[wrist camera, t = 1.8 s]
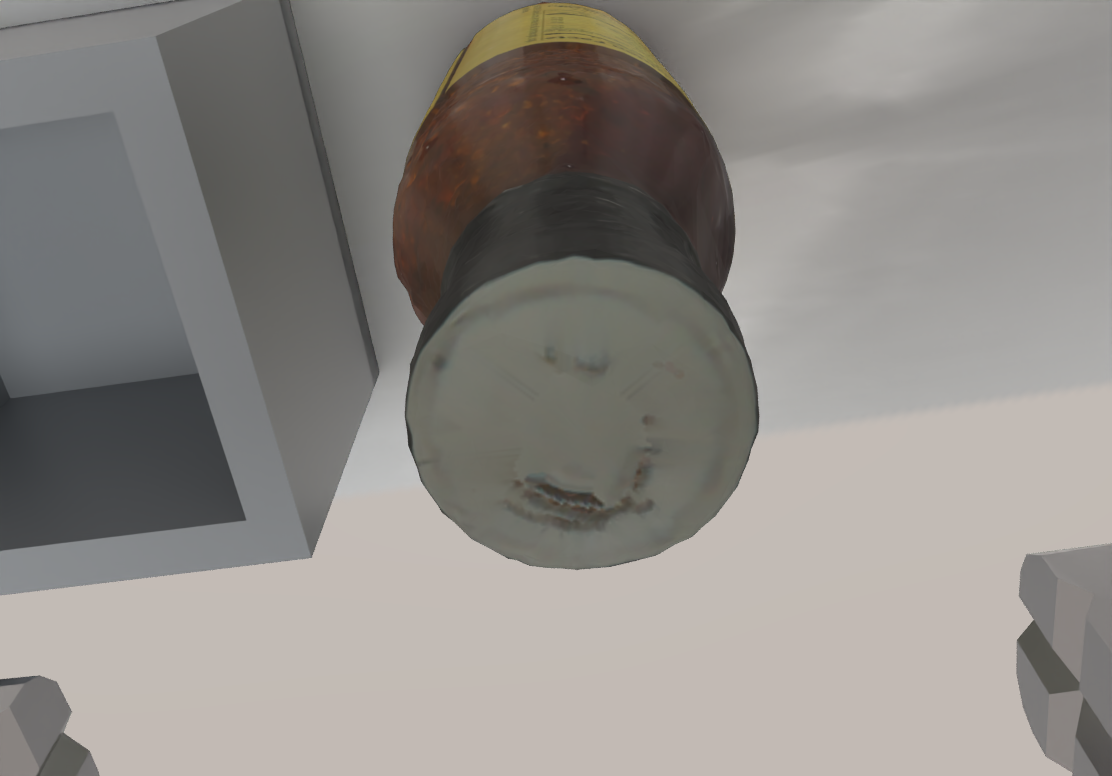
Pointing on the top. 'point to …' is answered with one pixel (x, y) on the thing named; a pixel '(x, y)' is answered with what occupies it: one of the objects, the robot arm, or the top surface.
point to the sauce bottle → (571, 297)
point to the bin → (169, 297)
